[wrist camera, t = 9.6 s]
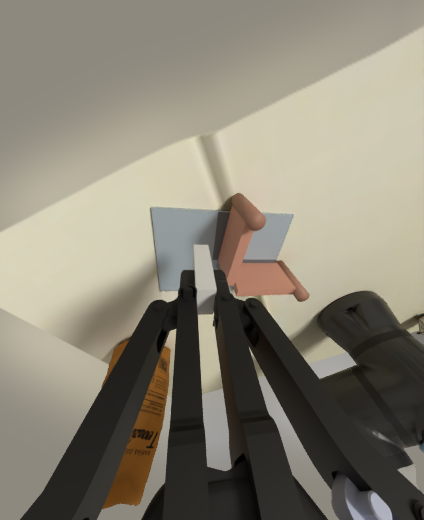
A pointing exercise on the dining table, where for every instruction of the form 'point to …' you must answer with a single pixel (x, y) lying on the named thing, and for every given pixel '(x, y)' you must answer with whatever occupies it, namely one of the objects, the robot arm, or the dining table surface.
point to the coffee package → (140, 436)
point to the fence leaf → (238, 235)
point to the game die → (420, 324)
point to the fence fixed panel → (267, 280)
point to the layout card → (207, 240)
